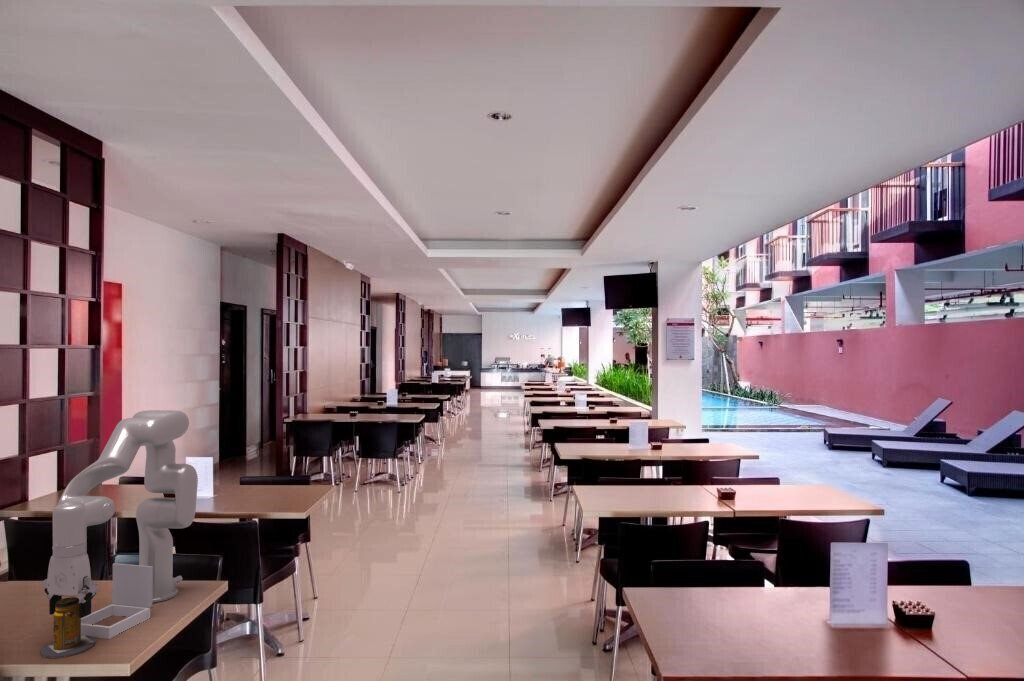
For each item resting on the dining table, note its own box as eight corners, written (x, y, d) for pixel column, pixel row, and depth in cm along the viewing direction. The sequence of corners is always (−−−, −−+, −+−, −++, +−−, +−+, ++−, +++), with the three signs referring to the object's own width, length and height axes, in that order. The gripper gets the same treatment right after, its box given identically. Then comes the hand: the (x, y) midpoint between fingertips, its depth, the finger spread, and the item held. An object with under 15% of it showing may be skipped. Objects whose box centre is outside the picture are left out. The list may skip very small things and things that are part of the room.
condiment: (47, 646, 175) (48, 600, 176) (84, 635, 182) (84, 591, 182) (57, 654, 171) (57, 607, 171) (94, 643, 177) (94, 597, 178)
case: (114, 613, 200) (115, 563, 200) (152, 617, 197) (152, 566, 197) (69, 634, 185) (69, 580, 185) (109, 638, 182) (109, 583, 182)
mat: (70, 636, 183) (70, 633, 183) (106, 640, 180) (106, 637, 180) (29, 655, 172) (29, 652, 172) (66, 660, 169) (66, 657, 169)
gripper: (30, 552, 175) (31, 617, 175) (84, 557, 171) (84, 623, 171) (56, 543, 183) (57, 605, 183) (108, 548, 178) (108, 611, 178)
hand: (70, 614), depth 177 cm, fingers open, 9 cm apart
